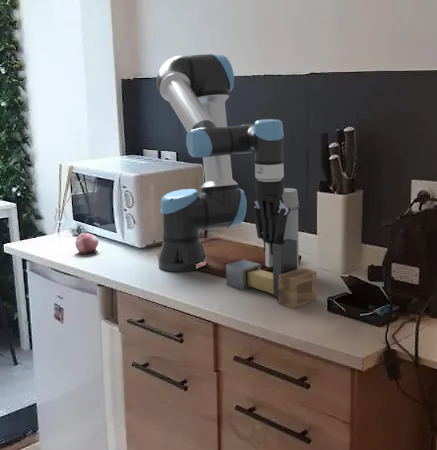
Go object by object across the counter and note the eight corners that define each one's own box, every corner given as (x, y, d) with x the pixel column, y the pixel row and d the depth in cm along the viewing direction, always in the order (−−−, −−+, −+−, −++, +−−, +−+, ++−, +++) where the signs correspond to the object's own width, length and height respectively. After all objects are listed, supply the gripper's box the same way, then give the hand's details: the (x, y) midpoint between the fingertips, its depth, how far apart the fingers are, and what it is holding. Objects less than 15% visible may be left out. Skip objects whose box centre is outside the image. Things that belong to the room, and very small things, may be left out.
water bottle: (298, 276, 209) (297, 192, 204) (272, 276, 211) (270, 192, 205) (301, 267, 218) (300, 186, 212) (275, 267, 220) (274, 186, 214)
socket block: (278, 303, 188) (278, 275, 186) (302, 295, 193) (302, 267, 192) (292, 308, 184) (292, 279, 182) (316, 299, 190) (316, 271, 188)
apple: (73, 256, 244) (69, 235, 245) (93, 254, 249) (89, 233, 250) (84, 253, 238) (81, 231, 239) (104, 250, 243) (101, 229, 244)
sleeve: (226, 284, 205) (226, 264, 203) (244, 279, 209) (243, 259, 208) (243, 290, 200) (242, 269, 198) (261, 284, 204) (260, 264, 202)
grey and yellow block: (238, 284, 201) (236, 234, 198) (254, 279, 205) (252, 230, 202) (292, 301, 186) (291, 247, 182) (308, 296, 190) (308, 243, 186)
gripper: (242, 178, 191) (244, 263, 197) (276, 183, 181) (278, 273, 187) (262, 174, 196) (264, 258, 201) (297, 179, 186) (298, 267, 192)
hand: (271, 265), depth 194 cm, fingers closed
